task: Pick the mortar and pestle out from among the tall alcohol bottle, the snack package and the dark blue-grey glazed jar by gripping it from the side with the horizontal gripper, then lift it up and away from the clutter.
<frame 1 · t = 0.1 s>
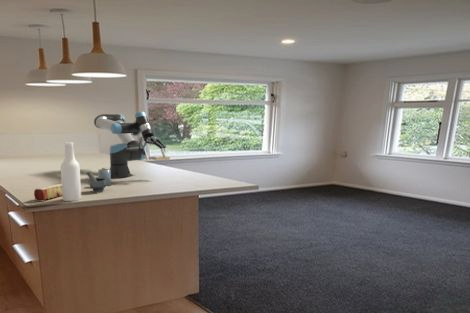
hand: (156, 157, 227), 15 cm above the countertop, tool tilted 35°, fingers open, 13 cm apart
alcohol: (72, 199, 175), on the countertop
snack package: (55, 197, 181), on the countertop
glazed jar: (105, 185, 210), on the countertop
mortar and pestle: (97, 191, 194), on the countertop
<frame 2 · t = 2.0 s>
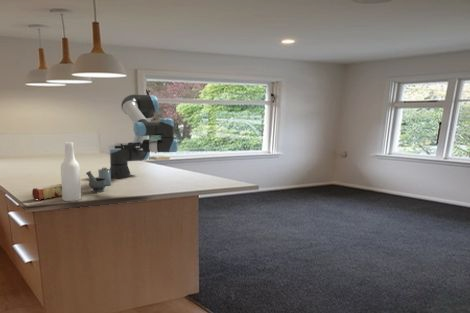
hand: (112, 145, 191), 26 cm above the countertop, tool horizontal, fingers open, 13 cm apart
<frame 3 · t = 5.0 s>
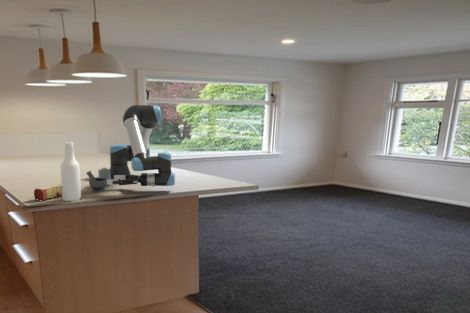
hand: (110, 179, 193), 7 cm above the countertop, tool horizontal, fingers open, 13 cm apart
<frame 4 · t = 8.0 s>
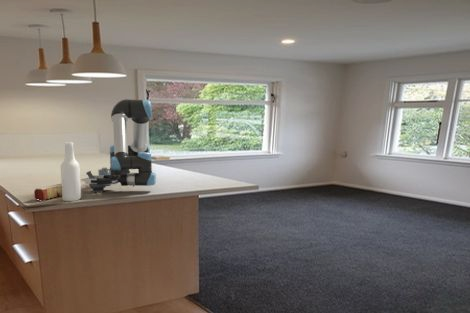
hand: (88, 179, 193), 7 cm above the countertop, tool horizontal, fingers closed on mortar and pestle, 9 cm apart
mortar and pestle: (97, 191, 194), on the countertop, touching gripper
everything else where it was.
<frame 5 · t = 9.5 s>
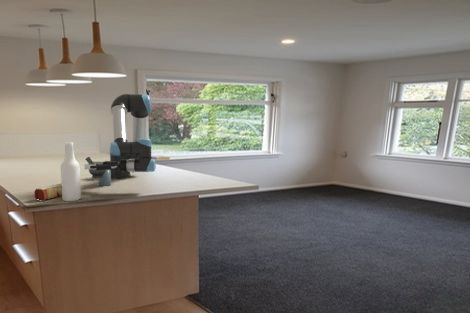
hand: (88, 165, 191), 15 cm above the countertop, tool horizontal, fingers closed on mortar and pestle, 9 cm apart
mortar and pestle: (96, 177, 192), point 8 cm above the countertop, touching gripper
everything else where it was.
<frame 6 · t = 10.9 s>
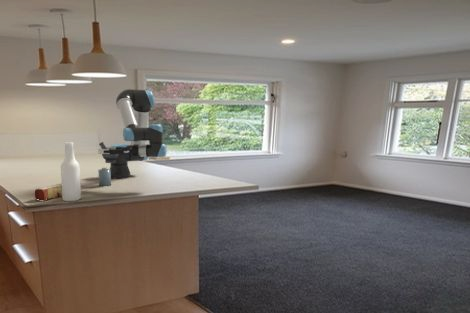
hand: (101, 150, 198), 23 cm above the countertop, tool horizontal, fingers closed on mortar and pestle, 9 cm apart
mortar and pestle: (109, 162, 199), point 16 cm above the countertop, touching gripper
everything else where it was.
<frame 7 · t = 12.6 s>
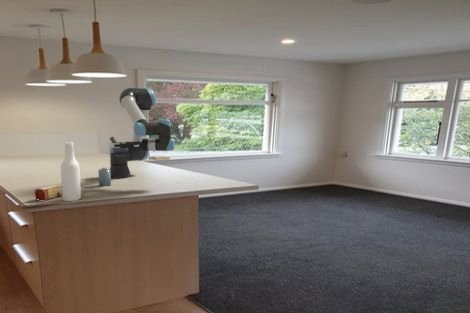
hand: (111, 144, 204), 26 cm above the countertop, tool horizontal, fingers closed on mortar and pestle, 9 cm apart
mortar and pestle: (119, 156, 205), point 19 cm above the countertop, touching gripper
everything else where it was.
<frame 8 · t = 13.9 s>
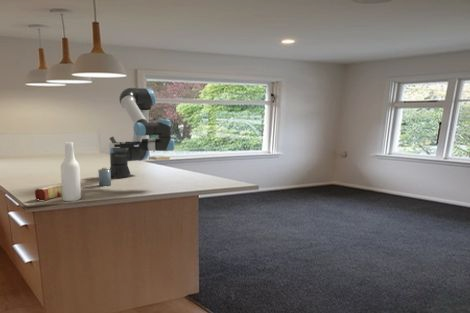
hand: (111, 144, 204), 26 cm above the countertop, tool horizontal, fingers closed on mortar and pestle, 9 cm apart
mortar and pestle: (119, 156, 205), point 19 cm above the countertop, touching gripper
everything else where it was.
at the end: the gripper is holding mortar and pestle; mortar and pestle point 18.7 cm above the countertop; alcohol moved 0.2 cm from its start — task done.
